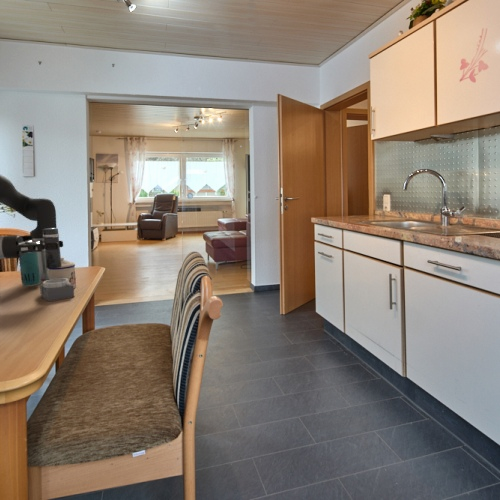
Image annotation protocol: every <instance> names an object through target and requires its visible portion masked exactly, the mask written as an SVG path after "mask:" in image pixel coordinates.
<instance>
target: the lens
mask: <svg viewBox="0 0 500 500" xmlns="http://www.w3.org/2000/svg"><path fill="white" fill-rule="evenodd" d="M43 238H44V243H45V244H46V243H58V244H59V241H60V234H59V228H57V227H56V228H46V229H43ZM45 258H46V267H47V268H59V267H62V265H61V258H62V256H61V247H60V245H59V249H56V250H45Z"/></svg>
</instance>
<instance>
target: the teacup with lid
mask: <svg viewBox="0 0 500 500" xmlns="http://www.w3.org/2000/svg"><path fill="white" fill-rule="evenodd" d="M61 265H62V267H59V268H48V269H49V276H50V279H57V278H67V279H69V283H71V285H73V289H76V288H77V279H76V278H77V276H76V268H75V266H76V264H75V263H74V262H71V261H68V260H66V259H65V257H61ZM50 279H49V280H50Z"/></svg>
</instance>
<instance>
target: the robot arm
mask: <svg viewBox="0 0 500 500" xmlns="http://www.w3.org/2000/svg"><path fill="white" fill-rule="evenodd" d="M0 204H2V205H3V206H4V205H5V206H6V207H9V208H10V209H12V210H13V211H16V212H17V213H18V214H20V215H21V216H23V217H24V218H26V219H27V220H30V221H32V222H36V227H35V228H34V229H32V230H31V231H30V233H29V235H31V236H32V238H33V240H28V241H25V242H24V241H23V238H22V237H21V236H22V235H0V260H4V259H5V260H6V259H19V258H21V257H23V255H24V253H31V252H37V255H38V264H39V272H40V280H41V281H42V280H44V281H46V280H50V276H49V269H48V268H47V267H46V258H45V250H56V249H59V245H60V248H62V247H64V241H63V240H59V244H58V243H46V244H45V243H44V238H43V229H46V228H57V211H56V206H55V204H54V202H53V201H52V200H51V199H49V198H33V197H29V196H27V195H26V194H23V193H21V192H20V191H18V190H17V189H16V186H15V185H14V184H13V183H12V181H11V180H10V179H9V178H7V177H5V176H4V175H3V174H1V173H0Z"/></svg>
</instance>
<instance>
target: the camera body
mask: <svg viewBox="0 0 500 500" xmlns="http://www.w3.org/2000/svg"><path fill="white" fill-rule="evenodd" d="M74 289H75V288H74ZM74 289H73V285H71V283H69V279H67V278H57V279H45V280H44V281H42V283H40V284H39V292H40V297H42V298H43V299H44V300H46V301H48V302H54V301H59V300H64V299H69V298H74V297H75V290H74Z"/></svg>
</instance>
